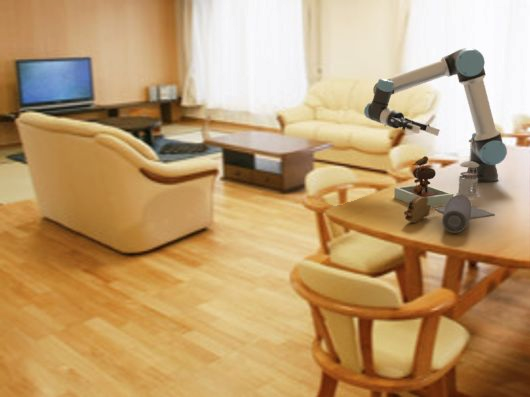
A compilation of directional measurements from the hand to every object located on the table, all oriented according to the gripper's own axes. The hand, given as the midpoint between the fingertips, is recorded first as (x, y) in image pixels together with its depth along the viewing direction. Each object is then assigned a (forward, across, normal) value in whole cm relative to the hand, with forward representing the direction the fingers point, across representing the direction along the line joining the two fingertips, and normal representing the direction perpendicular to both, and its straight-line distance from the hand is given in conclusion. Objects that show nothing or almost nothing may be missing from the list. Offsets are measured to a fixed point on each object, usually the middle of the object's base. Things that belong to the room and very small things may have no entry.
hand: (428, 131), depth 250 cm
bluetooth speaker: (+40, +21, -27) cm, 53 cm away
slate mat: (+31, +3, -25) cm, 40 cm away
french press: (+15, -22, -23) cm, 35 cm away
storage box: (+9, +1, -29) cm, 30 cm away
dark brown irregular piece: (+9, +1, -29) cm, 30 cm away
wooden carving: (+27, +26, -31) cm, 48 cm away
